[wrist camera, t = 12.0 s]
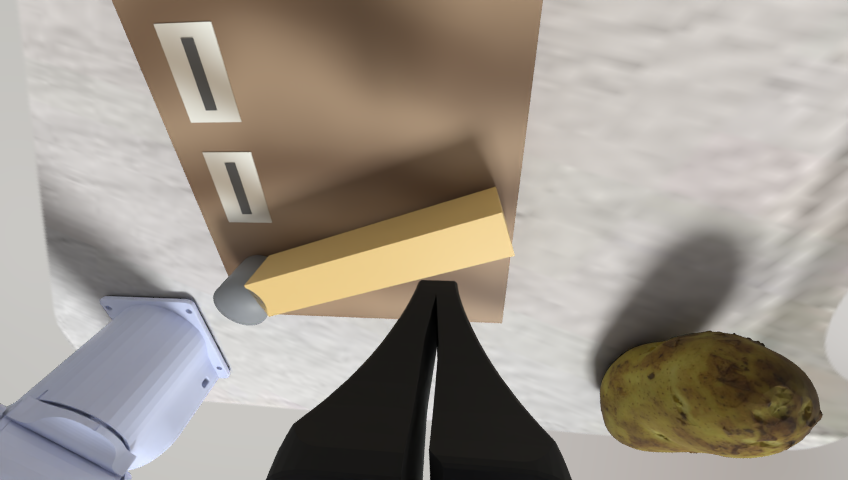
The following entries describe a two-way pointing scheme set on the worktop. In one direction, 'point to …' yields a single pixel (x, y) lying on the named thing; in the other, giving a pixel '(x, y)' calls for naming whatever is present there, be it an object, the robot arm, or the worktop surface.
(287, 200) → the label board
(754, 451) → the potato
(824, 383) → the worktop surface
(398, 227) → the swing bar
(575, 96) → the worktop surface
